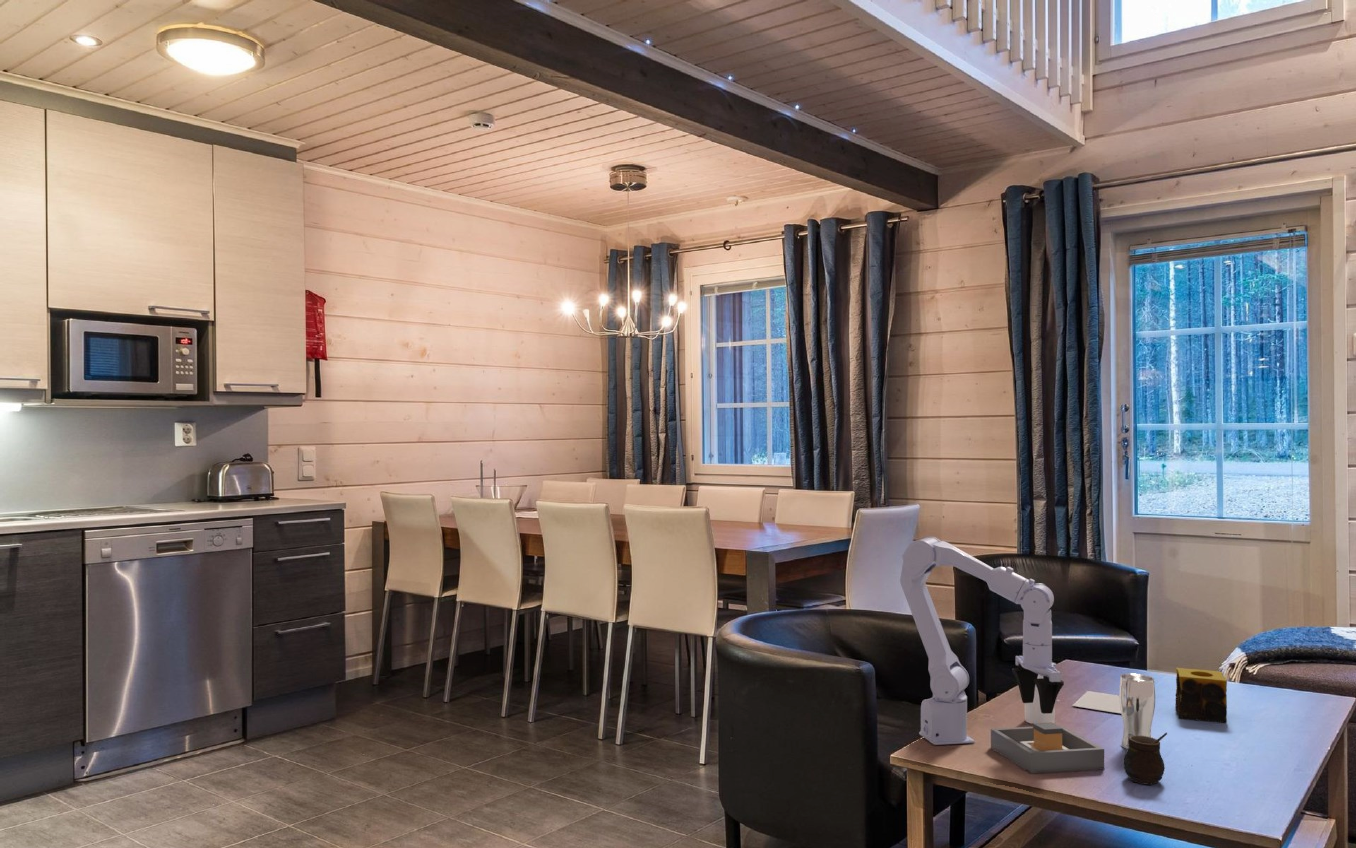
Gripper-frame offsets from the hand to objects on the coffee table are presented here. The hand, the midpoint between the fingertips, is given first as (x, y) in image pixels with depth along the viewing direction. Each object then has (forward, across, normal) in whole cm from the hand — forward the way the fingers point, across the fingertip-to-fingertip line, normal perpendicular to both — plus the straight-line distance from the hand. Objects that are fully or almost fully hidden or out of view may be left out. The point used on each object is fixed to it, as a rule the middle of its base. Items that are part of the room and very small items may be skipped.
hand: (1037, 707), depth 204 cm
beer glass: (+10, 0, -23) cm, 25 cm away
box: (+10, -3, 0) cm, 10 cm away
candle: (+10, +19, -53) cm, 57 cm away
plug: (+9, -3, -1) cm, 9 cm away
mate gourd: (+10, -18, -12) cm, 24 cm away
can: (+10, +20, -12) cm, 25 cm away
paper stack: (+10, +37, -37) cm, 53 cm away
